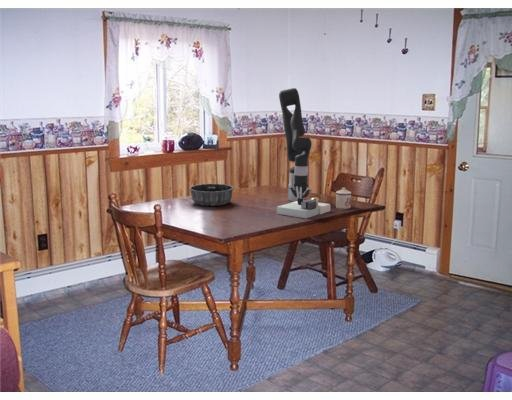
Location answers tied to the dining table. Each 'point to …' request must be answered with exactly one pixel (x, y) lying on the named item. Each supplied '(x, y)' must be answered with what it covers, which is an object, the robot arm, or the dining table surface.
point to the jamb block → (320, 207)
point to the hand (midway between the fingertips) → (300, 204)
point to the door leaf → (296, 211)
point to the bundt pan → (211, 194)
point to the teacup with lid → (343, 199)
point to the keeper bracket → (311, 205)
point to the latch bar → (304, 203)
